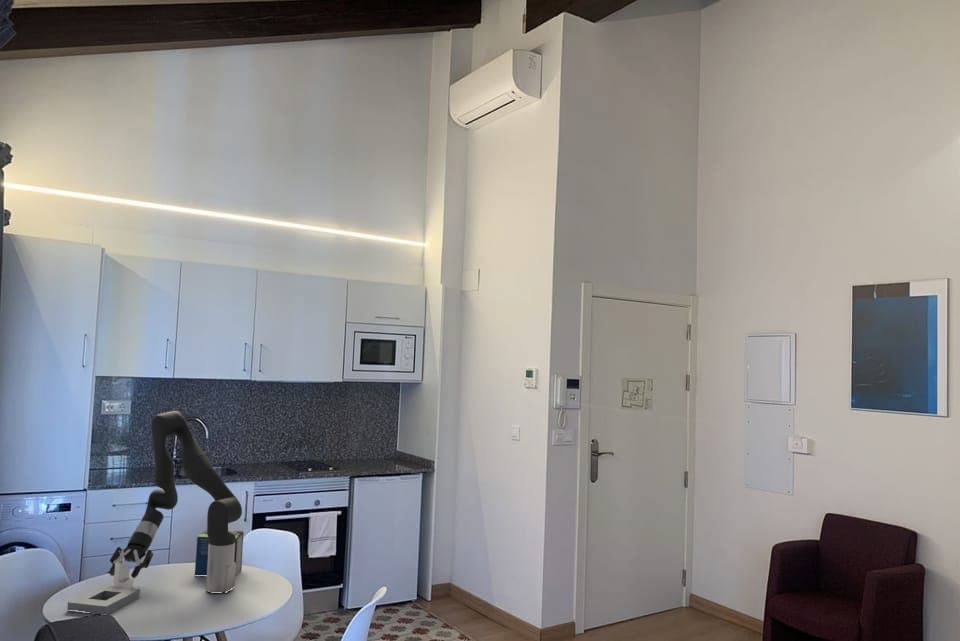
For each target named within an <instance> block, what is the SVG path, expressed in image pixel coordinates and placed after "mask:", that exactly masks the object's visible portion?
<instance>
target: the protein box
mask: <svg viewBox="0 0 960 641" xmlns="http://www.w3.org/2000/svg"><path fill="white" fill-rule="evenodd" d="M228 532H231V533H233V534H235V553H234V562H235V563H236V574H237V573H238V572H239V571H240V570H241V571H242V565H243V549H244V548H243V546H244V531H242V530H239V531H238V530H228ZM195 548H196V550H195V565H194V566H195V567H194V576H195V575H207V564H208V548H209V538H208V534H207V529H206V530H204V531H202V532H201V533H199V534H198V535H197V536H196V547H195ZM241 571H240V572H241ZM240 572H239V573H240ZM239 573H238V574H239ZM236 574H235V575H236ZM238 574H237V575H238ZM237 575H236V576H237Z"/></svg>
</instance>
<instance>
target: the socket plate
mask: <svg viewBox="0 0 960 641" xmlns="http://www.w3.org/2000/svg"><path fill="white" fill-rule="evenodd" d="M140 593H141V589H140V588H133V587H131V588H124V587H115V586H114V585H102V586H99V587H97V588H95V589H93V590H91V591H89V592H87V593H85V594H83V595H81V596H79V597H76V598H74V599H72V600H70V601H68V602H67V610H78V611H85V612H90V613H94V614H108V615H110V614H112V613H113V612H115V611H118V610H119V609H121V608H123V607H125V606H127V605H129V604H130V603H133V602H134V601H136V600H139V599H140V597H141V596H140ZM128 603H129V604H128ZM117 609H118V610H117ZM67 610H66V611H67ZM94 614H93V615H94Z"/></svg>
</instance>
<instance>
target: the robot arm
mask: <svg viewBox="0 0 960 641" xmlns="http://www.w3.org/2000/svg"><path fill="white" fill-rule="evenodd" d="M150 429H151V436H152V445H153V446H152V447H153V452H154V453H153V454H154V465H155V466H154V485H155V486H156V487H158V489H154V490H152V491H151V492H150V494H149V497H148V501H147V506H146V509H145V512H144V515H143V517H142V518H141V520H140V522H139V523H138V524H137V526H136V528H135V529H134V531H133V533H132V534H131V537H130V538H129V540H128V542H127V545H126V547H125V548H121V547H120V546H118V547H116V549H115V551H114V552H113V554H112V556H111V558H110V559H109V562H110V564H112V566H111V567H110V569H109V572H108V573H109V575H110V576H111V577H114V573H115V562H116V563H121V564H125V563H129V562H130V563H131V562H132V563H136V565H135V566H134V569H133V570H132V572H131V574H130V576H131V577H130V578H133V579H136V577H138V576H139V574H140V572H141V570H142V569H148V567H149V565H150V563H151V561H152V558H153V557H154V553H153V551H152V550H151V549H150V546H151V545H152V543H153V540H154V539H155V537H156V536H157V532H158V530H159V528H160V526H161V524H162V522H163V520H164V514H163V513H162V512H161V511H160V510H158V509H163V510H167V511H168V510H173V509H174V508H176V506H177V505H178V500H179V498H178V491H177V488H176V483H175V462H174V460H173V458H172V456H171V455H170V453H169V451H168V450H167V447H166V440H167V438H168V437H172V436H176V438H177V439H178V441H179V442H180V446H181V458H180V461H181V462H180V463H181V467H182V469H183V470H184V472H185V474H186V475H187V477H188V478H189V480H190V481H191V482H192V483H193V484H195V485H196V486H197V487H198V488H200V489H202V490H204V491H205V492H207V494H209V495H210V496H211V497H212V498H213V500H214V501H212V502H211V503H209V506H208V509H207V516H206V517H207V519H206V520H207V521H206V522H207V523H206V530H207V534H208V538H209V548H208V564H207V577H206V580H205V582H206V583H205V591H206V590H207V591H209V592H226V591H228V590H230V589H231V588H233V587H234V586H235V587H236V576H235V574H236V563H235V562H234V553H235V534H233V533H231V532H228V531H229V524H231V523H234V522H236V521H238V520H239V519H241V517H242V515H243V507H242V505H241V502H240V501H239V500H238V498H237V496H235V494H234V493H233V492H232V490H230V488H229V487H228V486H227V485H226V483H225V482H224V480H223V479H222V477H221V476H220V475H219V473H218V472H217V470H216V469H215V467H214V466H213V463H212V462H211V460H210V458H209V457H208V455H206V453H205V452H204V451H203V449H202V447H201V445H200V444H199V443H198V441H197V439H196V438H195V436H194V433H193V432H192V430H191V428H190V426H189V425H188V422H187V420H186V418H185V417H184V416H183V414H182V413H181V412H179V411H178V410H172V411H167V412H163V413H159V414H157V415H154V416H153V418H152V419H151V428H150ZM142 558H144V559H143V561H142Z"/></svg>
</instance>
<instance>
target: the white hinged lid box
mask: <svg viewBox="0 0 960 641" xmlns="http://www.w3.org/2000/svg"><path fill="white" fill-rule="evenodd" d="M130 568H131V567H129V566H127V565H124V563H122V564H121V563H116V562H115V573H114V576H113V586H115V587H124V588H133V587H134V578H132V577H130V571H131V569H130Z"/></svg>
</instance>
